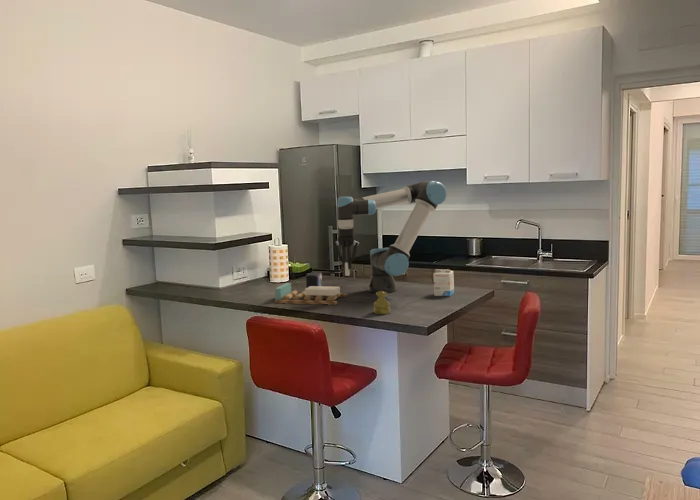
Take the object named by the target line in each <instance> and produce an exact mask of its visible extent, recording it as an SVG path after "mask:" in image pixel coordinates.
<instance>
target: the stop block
mask: <svg viewBox="0 0 700 500" xmlns="http://www.w3.org/2000/svg"><path fill="white" fill-rule="evenodd" d="M290 292H292V283H291V282H290V283H289V282H286V283H283V284H282V285H279V286H277V287H276V288H274V296H275V298H274V299H275V300H281V298H282V297H283V296H285V295H287V294H288V293H290Z"/></svg>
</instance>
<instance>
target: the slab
mask: <svg viewBox="0 0 700 500" xmlns="http://www.w3.org/2000/svg"><path fill="white" fill-rule="evenodd" d="M304 291H305V295H325V296H335V295H337V294H338V293H340V292H341V287H340V286H332V285H331V286H327V285H326V286H324V285H322V286H310V287H308V288H307V287H306V288H304Z"/></svg>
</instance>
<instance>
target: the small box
mask: <svg viewBox="0 0 700 500" xmlns="http://www.w3.org/2000/svg"><path fill="white" fill-rule="evenodd" d="M322 278H323V274H322V272H321V271H320V272H318V271H310V272H309V273H308V274H306V275H305V281H306V282H305V283H306V284H305V285H306V288H308V287H310V286H323V279H322Z"/></svg>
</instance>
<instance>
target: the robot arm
mask: <svg viewBox="0 0 700 500" xmlns="http://www.w3.org/2000/svg"><path fill="white" fill-rule="evenodd" d="M446 198H447V190H446V187H445V185H444V184H443V183H441V182H440V181H436V180H431V181H419V182H417V183H413V184H410V185H406V186H403V187H402V188H401V189H396V190H392V191H391V190H390V191H387V192H382V193H378V194H377V193H376V194H372V195H368V196H364V197H359V198H355V199H354V198H353V197H352V196H339V197H338V198H337V206H336V207H337V224H338V225H337V227H338V238H337V240H336V241H335V242H333V245H334V247H335V251H336V253H337V257H338V260H339V262H342V269H343V270H344V277H345V276H346V277H349V276H350V274H351V273H350V272H351V271H350V270H351V269H352V262H354V261H355V260H356V256H357V250H358V246H359V245H360V242H359V241H356V239H355V234H354V232H355V231H354V230H355V229H354V217H355V216H371V215H375V213H376V211H377V209H378V210H379V209H383V208H387V207H392V206H397V205H402V204H407V205H410V204H415V206H414V207H413V209H412V211H411V213H410V215H409V216H408V217H407V218H408V219H407V220H406V222H405V224H404V225H403V228H402V229H401V231H400V232H399V234H398V237H397V238H396V240H395V242H394V243H393V244H390V245H389V247H382V248H372V249H371V250H370V251H369V257H370V258H369V259H370V280H369V283H368V292H370V293H374V294H376V293H377V292H379V291H383V292H386V293H387V294H388V293H392V292H393V293H394V292H396V291H397V284H396V281H395V279H394V276H395V277H397V276H401V275H404V274H405V273H406V272H407V271H408V268H409V264H410V263H409V259H410V257H411V255H410V251H411V250H412V247H413V245H414V243H415V241H416V239H417V237H418V236H419V234H420V232H421V230H422V229H423V227H424V225H425V223H426V221H427V220H428V217H429V215H430V214H431V213H432V212H435V211H436V209H437V207H438V206H439V205H441V204H443V203H444V202H445V201H446ZM352 245H353V249H352ZM340 246H341V247H340Z"/></svg>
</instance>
